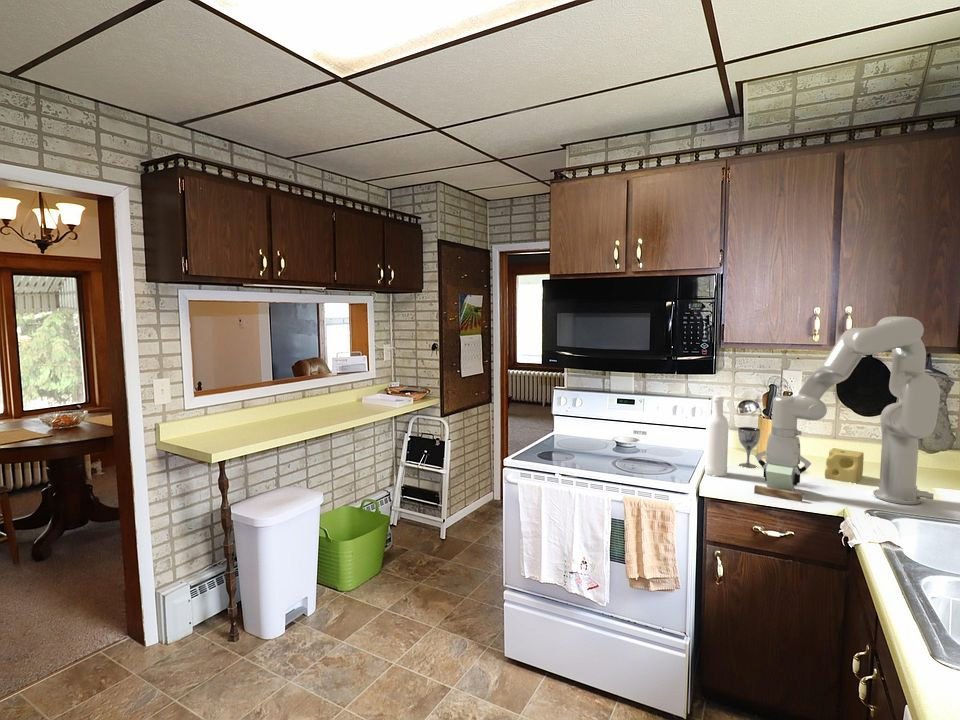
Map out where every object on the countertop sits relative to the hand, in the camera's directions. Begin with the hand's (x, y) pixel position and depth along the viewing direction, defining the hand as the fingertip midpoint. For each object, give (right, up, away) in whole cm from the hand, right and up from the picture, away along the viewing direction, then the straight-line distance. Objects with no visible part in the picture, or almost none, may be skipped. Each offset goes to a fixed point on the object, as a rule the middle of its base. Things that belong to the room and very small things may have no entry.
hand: (781, 482), depth 189 cm
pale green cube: (+2, -1, +2) cm, 3 cm away
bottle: (-13, -2, +21) cm, 25 cm away
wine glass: (+4, -1, +32) cm, 32 cm away
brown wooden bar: (-4, -4, -5) cm, 8 cm away
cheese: (+32, -2, +15) cm, 35 cm away
